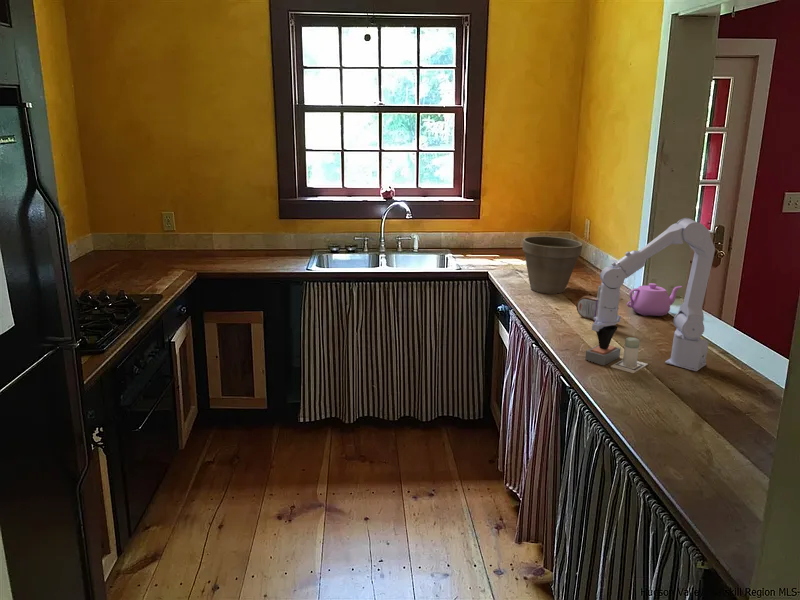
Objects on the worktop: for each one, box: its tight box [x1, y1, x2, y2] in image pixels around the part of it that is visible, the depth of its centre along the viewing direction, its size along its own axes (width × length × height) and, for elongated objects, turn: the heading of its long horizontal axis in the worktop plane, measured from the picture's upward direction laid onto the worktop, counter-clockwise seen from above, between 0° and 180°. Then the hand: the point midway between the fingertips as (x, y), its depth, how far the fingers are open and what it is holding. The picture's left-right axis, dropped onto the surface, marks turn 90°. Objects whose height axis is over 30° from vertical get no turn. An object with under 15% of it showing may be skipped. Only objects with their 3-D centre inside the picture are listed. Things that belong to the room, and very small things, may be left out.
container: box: [593, 284, 601, 323], centre depth 228 cm, size 5×5×15 cm
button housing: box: [584, 344, 621, 366], centre depth 199 cm, size 6×10×3 cm, turn 136°
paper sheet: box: [610, 359, 649, 374], centre depth 194 cm, size 7×10×1 cm
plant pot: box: [522, 235, 583, 295], centre depth 277 cm, size 25×25×22 cm
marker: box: [622, 337, 640, 367], centre depth 193 cm, size 4×4×8 cm
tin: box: [576, 295, 597, 321], centre depth 238 cm, size 15×3×8 cm, turn 47°
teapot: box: [626, 282, 683, 317], centre depth 248 cm, size 20×13×12 cm, turn 89°
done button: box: [591, 344, 616, 355], centre depth 198 cm, size 4×8×2 cm, turn 136°
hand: (603, 348), depth 198 cm, fingers closed, pressing on done button
